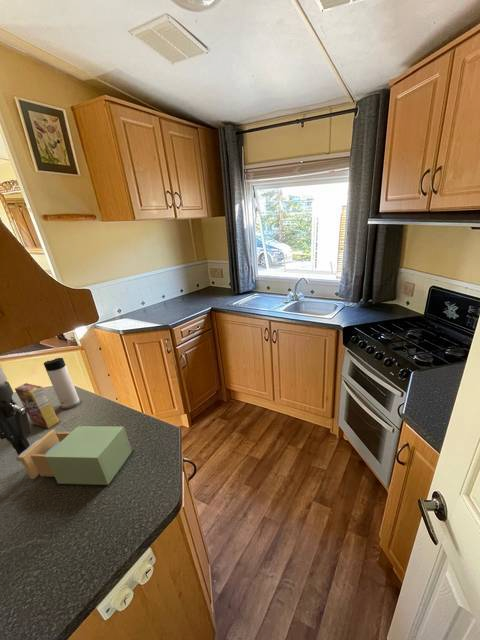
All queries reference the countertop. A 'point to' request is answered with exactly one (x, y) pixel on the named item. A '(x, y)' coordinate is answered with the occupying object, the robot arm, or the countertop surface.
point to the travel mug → (62, 383)
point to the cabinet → (89, 455)
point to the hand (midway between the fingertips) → (27, 456)
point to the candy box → (37, 405)
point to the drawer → (40, 454)
